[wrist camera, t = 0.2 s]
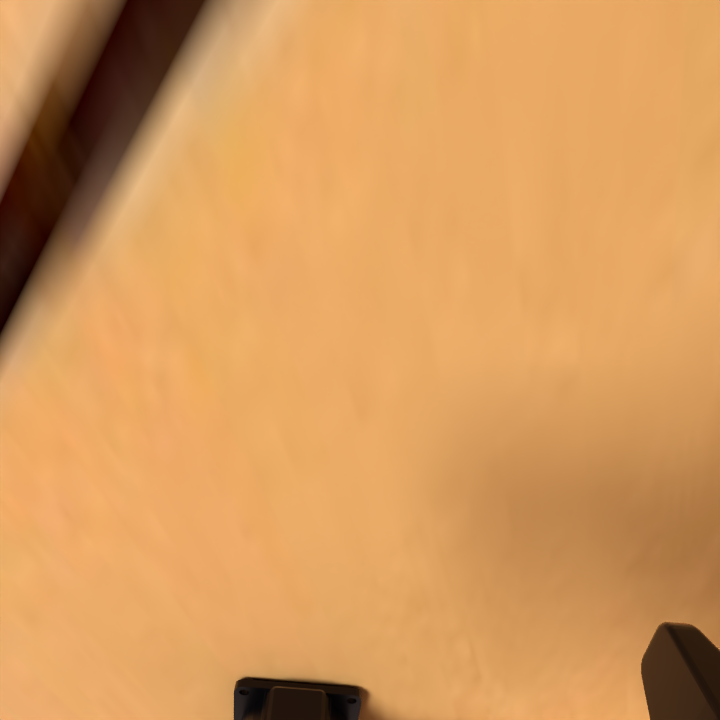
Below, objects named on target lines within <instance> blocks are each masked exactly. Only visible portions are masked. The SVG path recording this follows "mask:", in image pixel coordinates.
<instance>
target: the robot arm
mask: <svg viewBox="0 0 720 720" xmlns="http://www.w3.org/2000/svg"><path fill="white" fill-rule="evenodd" d="M641 674H642V680H643V685H644V690H645V695H646V700H647V705H648V710H649V715H650V720H720V650H719V649H718V648H717V647H716V646H715V645H714V644H713V643H712V642H711V641H710V640H709V639H708V638H707V637H706V636H705V635H704V634H703V633H702V632H701V631H700V630H699V629H697V628H696V627H695V626H693V625H690V624H685V623H671V622H664V623H662V624H661V625H659V626H658V628H657V630H656V632H655V634H654V636H653V638H652V640H651V642H650V644H649V646H648V648H647V650H646V652H645V654H644V656H643V659H642V663H641ZM361 697H362V694H361V691H360V690H358V689H356V688H349V687H336V686H324V685H311V684H299V683H286V682H274V681H261V680H249V679H241V680H238V681H237V682H236V684H235V690H234V720H358V717H359V712H360V707H361Z"/></svg>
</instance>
